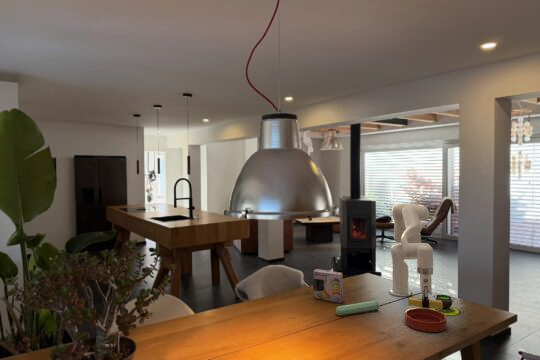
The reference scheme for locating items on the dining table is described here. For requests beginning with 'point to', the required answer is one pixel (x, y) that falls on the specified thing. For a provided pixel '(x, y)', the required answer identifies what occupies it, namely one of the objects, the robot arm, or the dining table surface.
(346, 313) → the pale green faceted rod
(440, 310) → the toy cauldron
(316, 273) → the cake pan box
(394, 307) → the dining table surface
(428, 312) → the bowl
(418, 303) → the banana
